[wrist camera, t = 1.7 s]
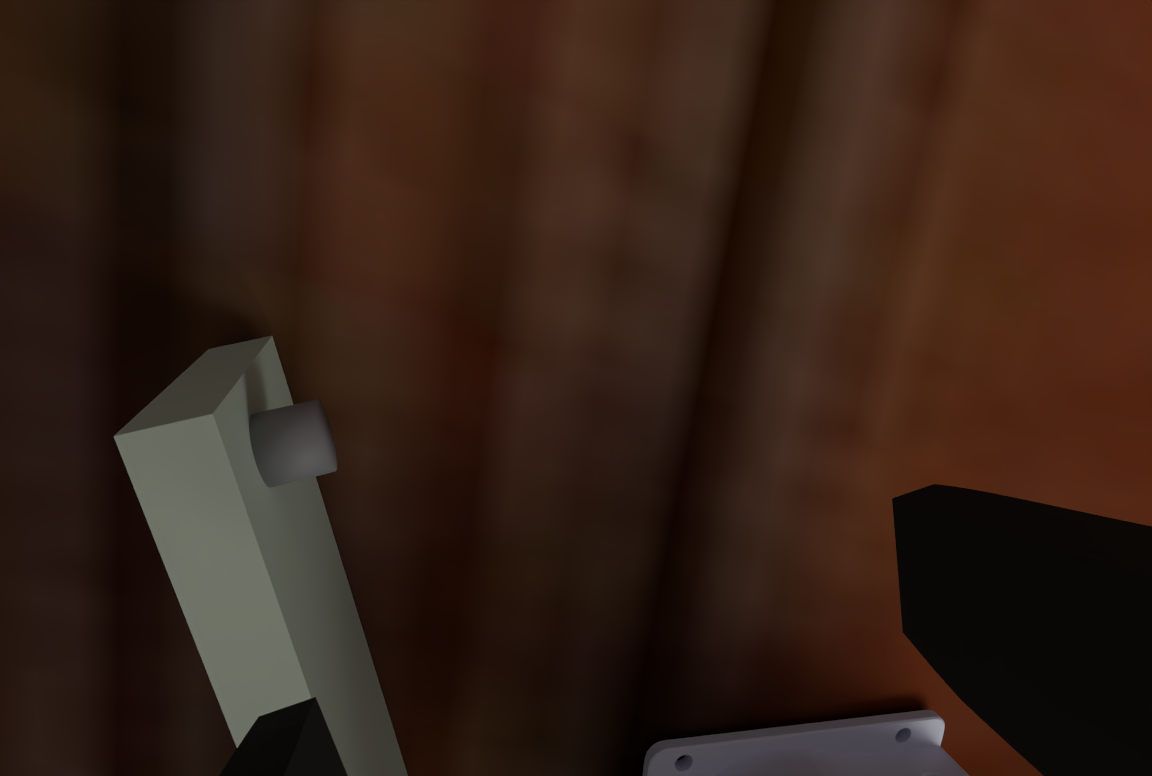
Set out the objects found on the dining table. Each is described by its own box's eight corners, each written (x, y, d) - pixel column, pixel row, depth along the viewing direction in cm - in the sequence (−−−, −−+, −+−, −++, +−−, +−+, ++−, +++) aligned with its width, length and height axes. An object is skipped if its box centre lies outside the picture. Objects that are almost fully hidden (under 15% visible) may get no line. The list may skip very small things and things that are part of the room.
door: (494, 925, 20) (531, 1172, 15) (413, 955, 19) (424, 1220, 14) (323, 324, 15) (292, 395, 10) (208, 348, 14) (112, 436, 9)
